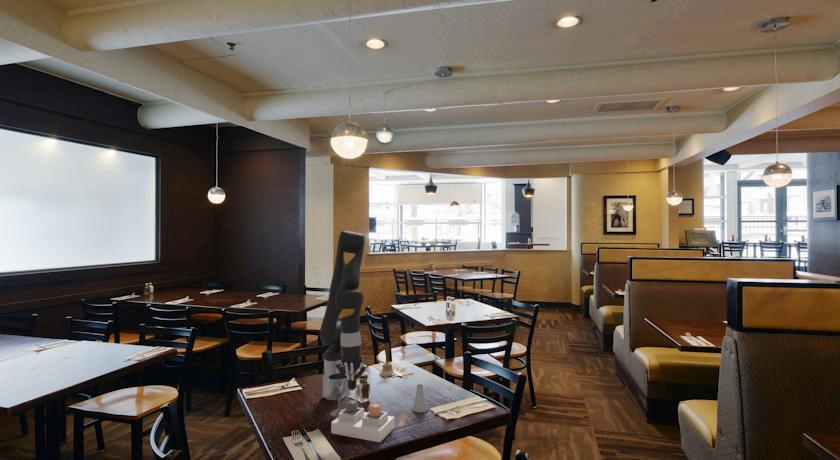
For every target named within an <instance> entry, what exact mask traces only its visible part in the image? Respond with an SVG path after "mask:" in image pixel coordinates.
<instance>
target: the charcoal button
mask: <svg viewBox="0 0 840 460" xmlns="http://www.w3.org/2000/svg"><path fill="white" fill-rule="evenodd" d="M344 404H345V405H344V406H345V408H344V409H345V411H346V412H347V413H354V412H356V411H357V407H358V401H357V400H355V399H351V400H350V399H349V400H347V401H345V403H344Z"/></svg>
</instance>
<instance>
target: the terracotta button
mask: <svg viewBox="0 0 840 460" xmlns="http://www.w3.org/2000/svg"><path fill="white" fill-rule="evenodd" d="M381 411H382V405H381V404H379V403H371V404H369V405H368V412H369V416H371V417H377V416H380V415H381Z"/></svg>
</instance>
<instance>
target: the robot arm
mask: <svg viewBox="0 0 840 460" xmlns="http://www.w3.org/2000/svg"><path fill="white" fill-rule="evenodd" d="M365 244H366V241H365V235H364V234H363V233H360V232H355V231H349V230H342V231H340V233H339V236H338V241H337V246H336V247H337V248H336V255H335V256H336V257H335V262H334V263H335V264H334V268H333V273H332V277H331V282H330V287H329V292H328V298H327V303H326V308H325V312H324V315H323V319H322V322H321V324H320V325H321V326H320V330H319V338H320V341H321V342H322V344H323V345H326V346H329V347H328V348H327V349H326V350H325V351H324V352H323V353H324V354H323V362H324V363H323V367H324V370H323V371H324V372H323V373H324V375H322V398H324V399H326V400H327V401H337V398H336V396H335V395H334V394H333V393H332V392H331V390H330V387H329V376H330V375H331V374H335V373H341V375H342V376H343V378H347V380H348V387H347V389H348V391H354V390H356V388H357V380H358V379H359V378H361V377H362V376H363V374H364V373H365V371H366V370H367V369H368V367H369V366H368V365H367V364H364V363H363V359H362V338H361V337H362V336H361V329H360V328H361V325H360V324H361V323H360V322H361V321H360V320H361V319H360V318H361V311H362V307H363V304H364V299H365V297H364V294H363V292H362V291H361V290H359V287H360V275H361V274H360V273H361V267H362V262H363V257H364V251H365ZM345 253H347V254H353V255H354V256H353V257H352V258H351V259H350V260H349V261H348V262H347V263H346V261H345V257H344V256H345V255H344V254H345ZM343 310H353V311H352V313H350V314H345V315H343V316H342V317H341V318H340V314H341V313H342V311H343ZM339 318H340V320H339ZM346 392H347V390H346V391H345V393H344V394H343V395H342V397H341V400H343V399H344V398H345V397H346V396H347V393H346Z"/></svg>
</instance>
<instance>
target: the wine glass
mask: <svg viewBox="0 0 840 460" xmlns="http://www.w3.org/2000/svg"><path fill="white" fill-rule="evenodd" d="M329 387H330V390H331V392H332V393H333V394H334V395H335V396H336V398H337V400H336V401H337V409H334V410H332V411H331V412H330V413H329V414H330V415H331V416H332V417H336V418H338V413H340V412H341V411H342V410H344V409H345V408H341V400H342V399H341V397H342V395H343V394H344V393H345V391H346V392H347V390H348V380H347V378H343V376H342V375H341V373H335V374H331V375H330V376H329Z"/></svg>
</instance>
